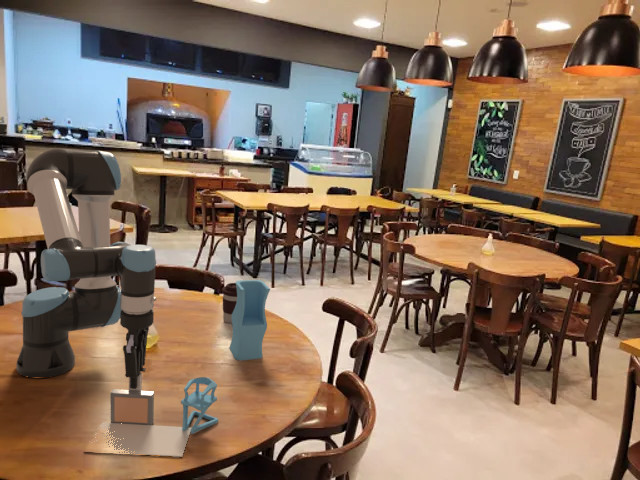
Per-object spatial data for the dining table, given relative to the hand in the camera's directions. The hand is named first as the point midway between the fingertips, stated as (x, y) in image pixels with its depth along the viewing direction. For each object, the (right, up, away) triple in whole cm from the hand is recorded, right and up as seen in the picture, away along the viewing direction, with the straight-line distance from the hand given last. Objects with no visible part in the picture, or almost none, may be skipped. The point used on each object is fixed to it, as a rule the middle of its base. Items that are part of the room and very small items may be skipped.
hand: (134, 397), depth 119 cm
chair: (+15, -8, +2) cm, 17 cm away
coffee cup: (+11, +7, +71) cm, 73 cm away
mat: (+4, -8, -6) cm, 11 cm away
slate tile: (-1, -7, 0) cm, 7 cm away
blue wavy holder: (+21, 0, +45) cm, 50 cm away
